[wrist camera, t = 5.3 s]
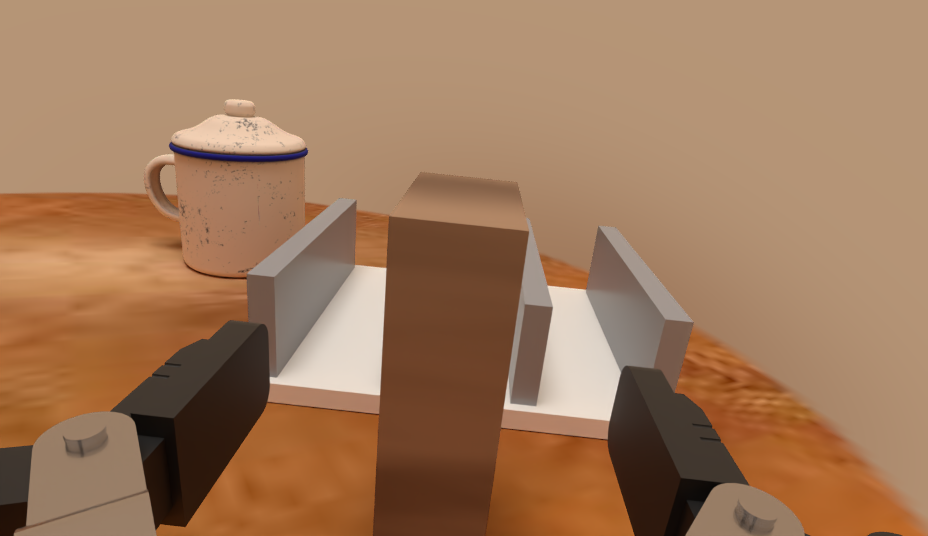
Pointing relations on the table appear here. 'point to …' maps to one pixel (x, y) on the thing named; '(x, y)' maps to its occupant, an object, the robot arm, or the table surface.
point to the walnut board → (446, 352)
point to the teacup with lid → (233, 189)
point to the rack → (535, 340)
